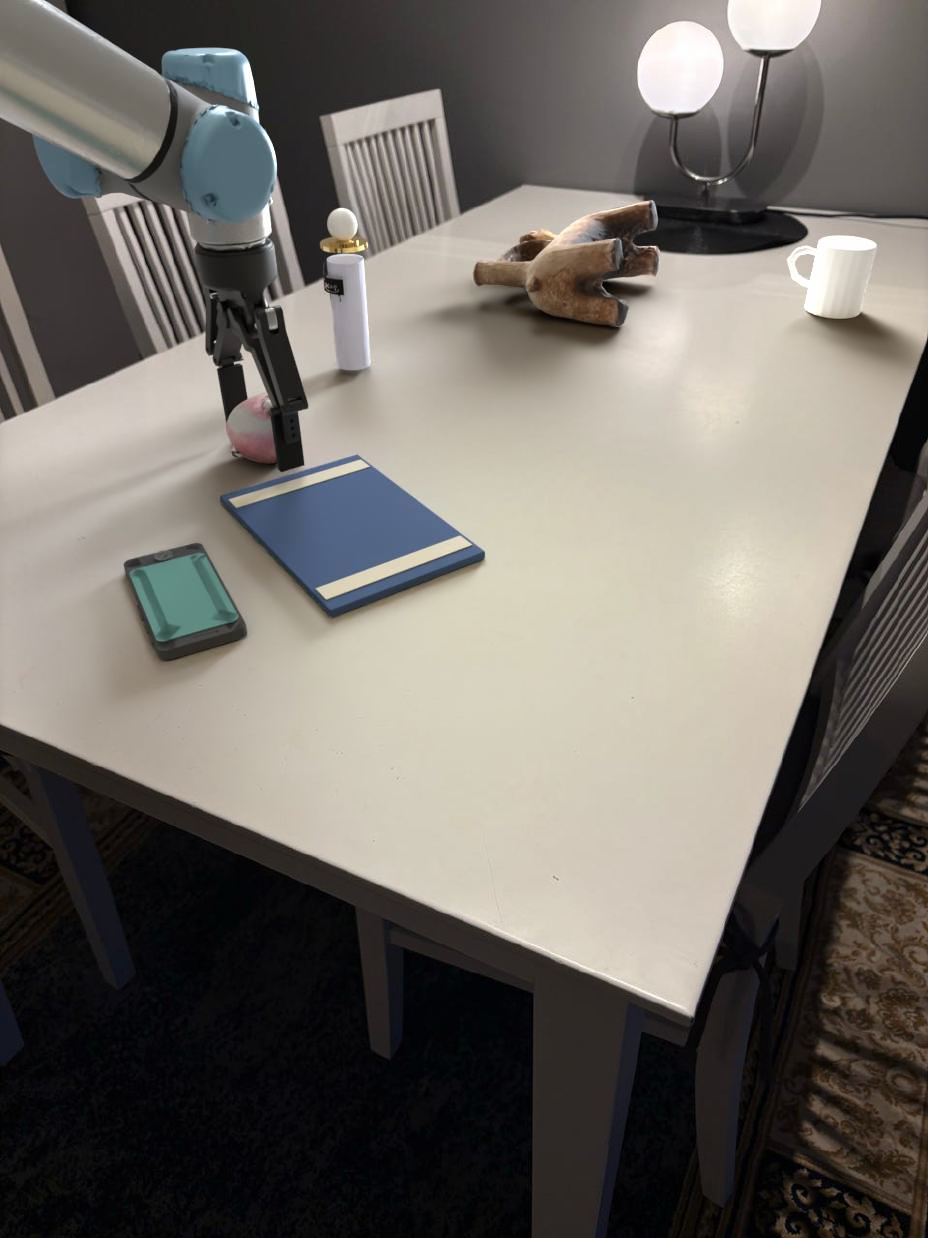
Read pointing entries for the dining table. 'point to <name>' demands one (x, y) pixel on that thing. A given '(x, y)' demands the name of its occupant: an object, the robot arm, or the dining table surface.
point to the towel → (349, 533)
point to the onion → (252, 430)
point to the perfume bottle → (347, 291)
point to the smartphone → (183, 601)
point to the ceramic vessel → (579, 264)
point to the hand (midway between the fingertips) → (263, 444)
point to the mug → (836, 275)
